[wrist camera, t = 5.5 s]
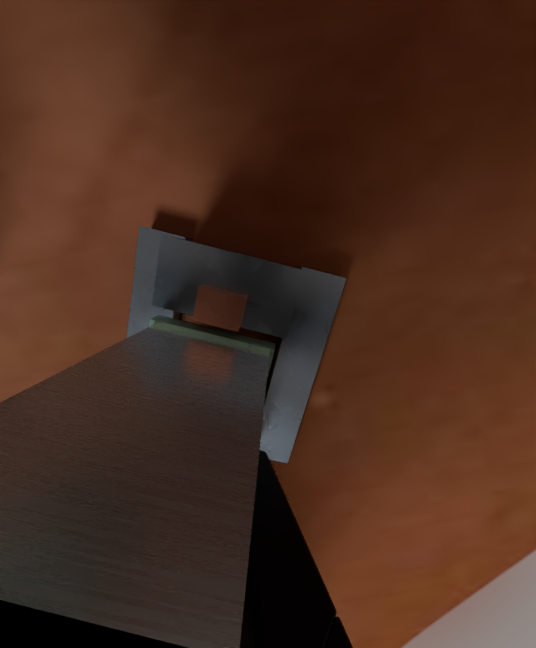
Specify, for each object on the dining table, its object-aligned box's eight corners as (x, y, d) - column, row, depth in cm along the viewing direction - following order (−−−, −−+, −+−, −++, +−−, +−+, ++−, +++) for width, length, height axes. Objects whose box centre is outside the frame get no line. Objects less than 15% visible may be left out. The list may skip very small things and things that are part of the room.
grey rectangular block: (250, 434, 11) (129, 1173, 2) (150, 410, 11) (-420, 1072, 2) (275, 339, 10) (245, 1023, 1) (164, 312, 10) (-893, 792, 1)
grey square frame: (287, 450, 15) (290, 521, 11) (128, 412, 14) (70, 470, 10) (341, 276, 12) (371, 284, 8) (150, 228, 12) (87, 212, 8)
